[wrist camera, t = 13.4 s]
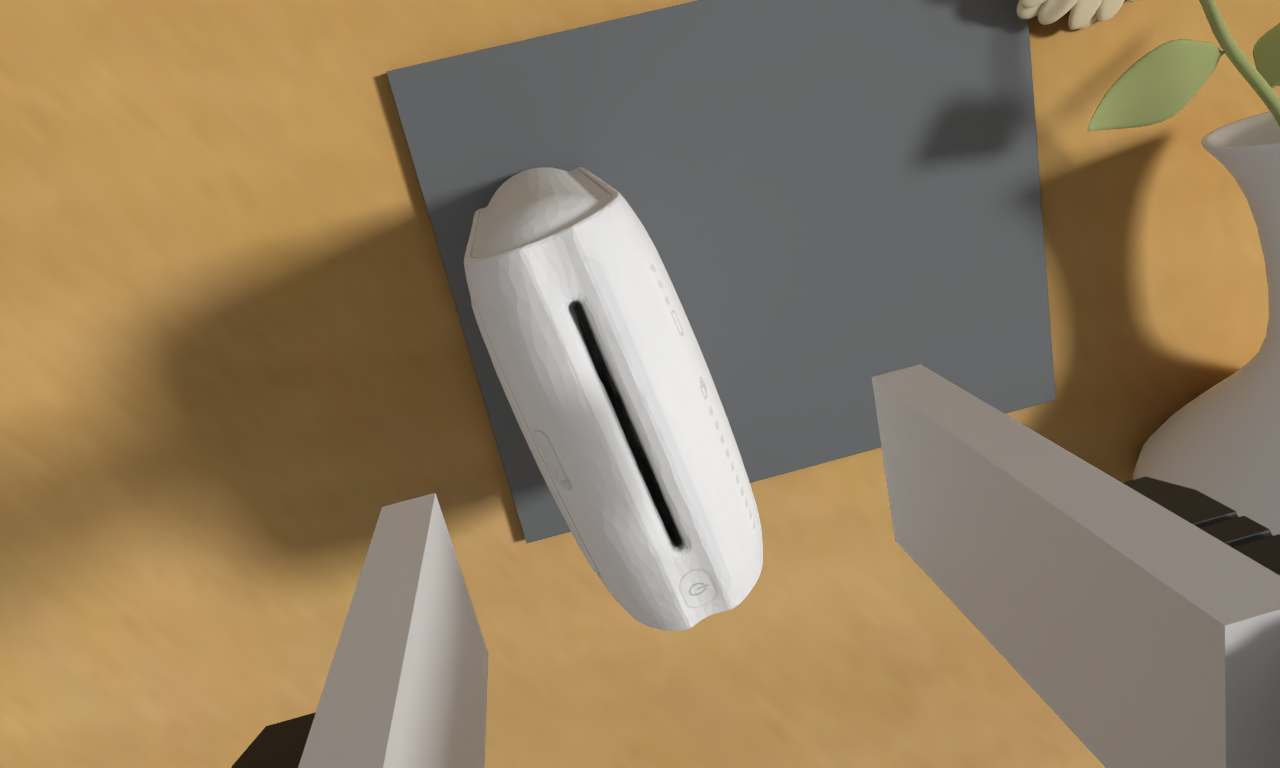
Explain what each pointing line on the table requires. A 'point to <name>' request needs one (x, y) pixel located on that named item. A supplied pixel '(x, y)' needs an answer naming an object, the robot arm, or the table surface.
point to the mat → (775, 200)
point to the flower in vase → (1276, 192)
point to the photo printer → (614, 396)
